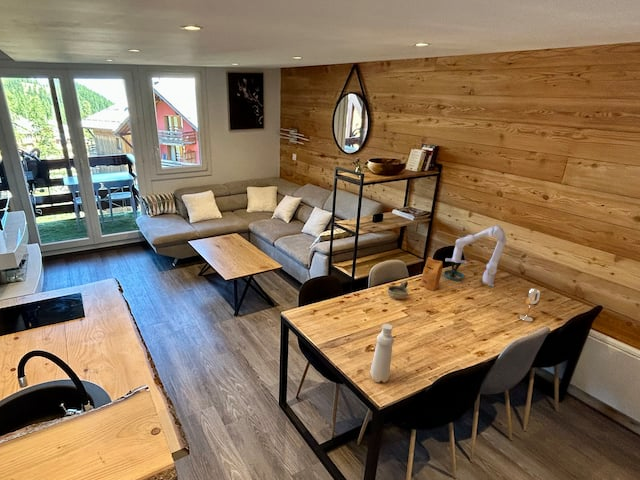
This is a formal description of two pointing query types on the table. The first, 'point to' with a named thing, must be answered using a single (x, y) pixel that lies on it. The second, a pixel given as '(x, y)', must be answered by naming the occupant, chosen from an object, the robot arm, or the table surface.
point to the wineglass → (531, 302)
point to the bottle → (382, 355)
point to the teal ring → (454, 274)
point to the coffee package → (431, 274)
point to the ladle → (453, 273)
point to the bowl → (399, 290)
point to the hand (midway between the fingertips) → (453, 271)
